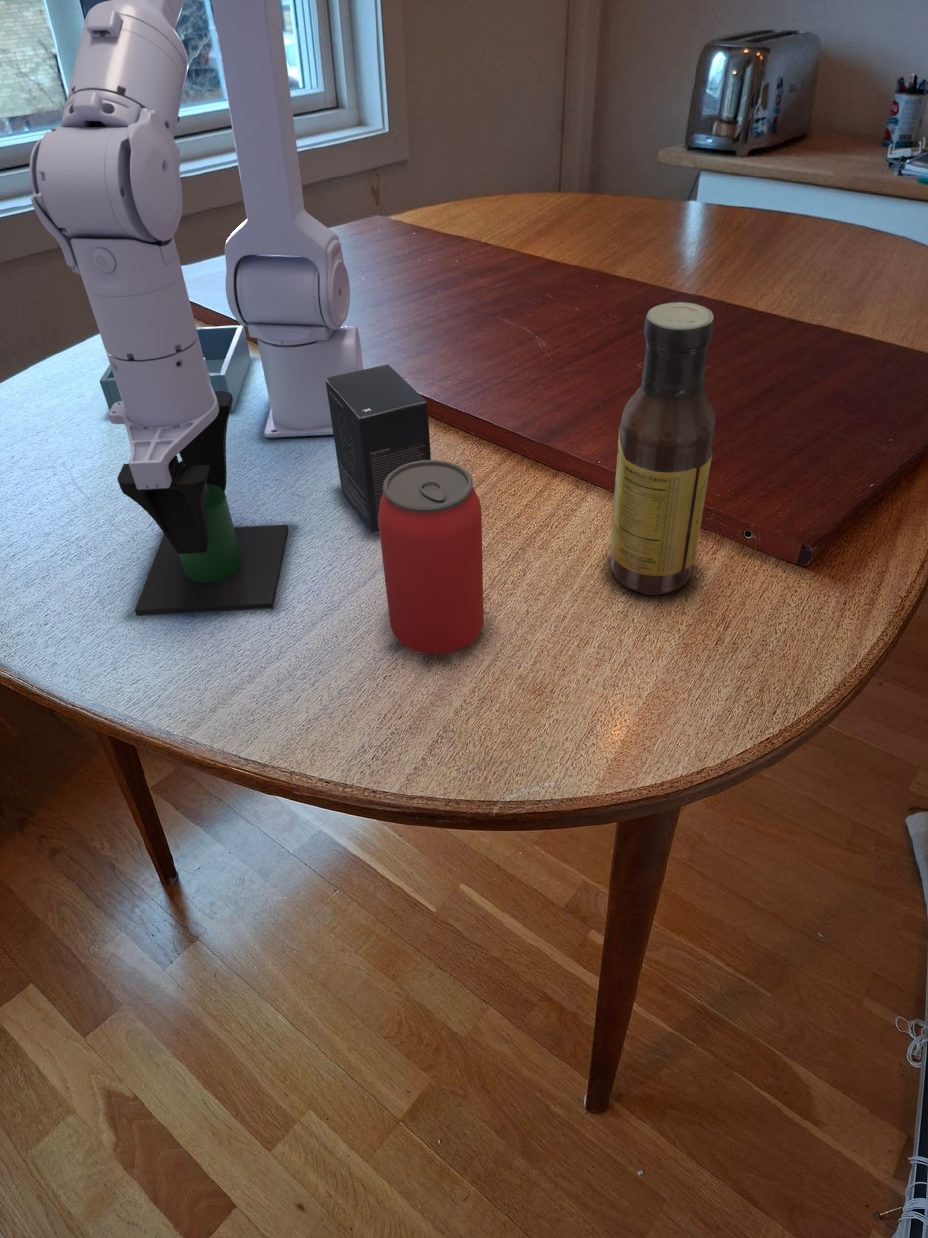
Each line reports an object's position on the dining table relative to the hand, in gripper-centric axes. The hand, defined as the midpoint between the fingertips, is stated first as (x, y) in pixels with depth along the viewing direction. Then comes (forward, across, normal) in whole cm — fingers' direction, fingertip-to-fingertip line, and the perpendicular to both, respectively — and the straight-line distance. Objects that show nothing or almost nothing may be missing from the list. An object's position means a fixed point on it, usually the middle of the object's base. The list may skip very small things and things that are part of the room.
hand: (203, 519), depth 63 cm
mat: (+5, 0, 0) cm, 5 cm away
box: (+5, -8, +13) cm, 16 cm away
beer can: (+5, +8, +17) cm, 19 cm away
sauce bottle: (+5, +3, +33) cm, 34 cm away
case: (+5, -32, -9) cm, 33 cm away
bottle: (+4, 0, 0) cm, 4 cm away
